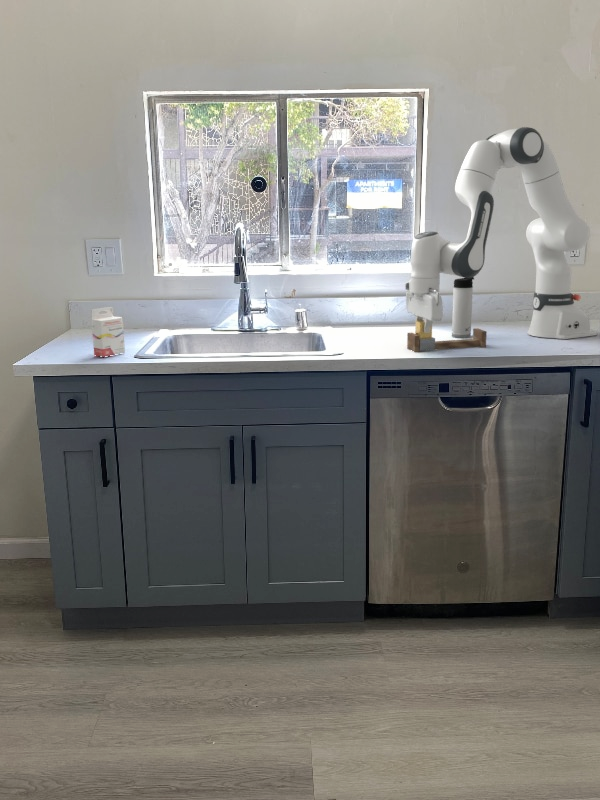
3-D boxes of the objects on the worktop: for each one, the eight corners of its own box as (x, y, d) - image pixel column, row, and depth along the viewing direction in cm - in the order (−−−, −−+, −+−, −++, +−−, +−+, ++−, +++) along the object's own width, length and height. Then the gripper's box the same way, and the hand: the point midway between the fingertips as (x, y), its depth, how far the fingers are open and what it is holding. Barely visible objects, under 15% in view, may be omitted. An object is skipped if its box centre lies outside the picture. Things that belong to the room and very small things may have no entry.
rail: (476, 343, 236) (477, 328, 235) (485, 347, 230) (486, 331, 229) (407, 348, 231) (407, 332, 229) (414, 352, 225) (414, 336, 224)
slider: (426, 346, 232) (427, 319, 230) (434, 349, 226) (435, 322, 224) (411, 347, 231) (412, 320, 229) (419, 350, 225) (420, 323, 223)
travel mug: (471, 338, 245) (474, 278, 240) (451, 338, 246) (453, 278, 241) (471, 335, 251) (474, 276, 245) (451, 334, 252) (453, 276, 247)
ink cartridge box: (103, 358, 225) (99, 310, 221) (93, 356, 228) (89, 309, 224) (126, 353, 231) (122, 307, 227) (116, 352, 234) (112, 306, 230)
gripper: (448, 289, 215) (447, 336, 218) (421, 282, 234) (420, 325, 237) (428, 290, 213) (427, 337, 217) (402, 283, 232) (401, 326, 236)
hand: (423, 331), depth 227 cm, fingers closed on slider, 3 cm apart
